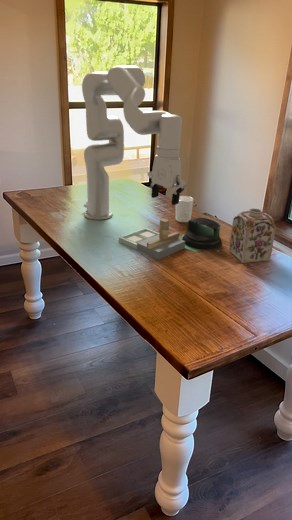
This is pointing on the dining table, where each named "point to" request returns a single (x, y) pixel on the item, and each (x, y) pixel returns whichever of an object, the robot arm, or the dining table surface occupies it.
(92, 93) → the robot arm
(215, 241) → the dark round cap
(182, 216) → the white cup
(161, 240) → the tan bar
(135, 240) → the tile
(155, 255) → the board
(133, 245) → the tray
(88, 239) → the dining table surface
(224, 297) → the dining table surface
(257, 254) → the decorative jar
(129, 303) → the dining table surface
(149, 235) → the tile
